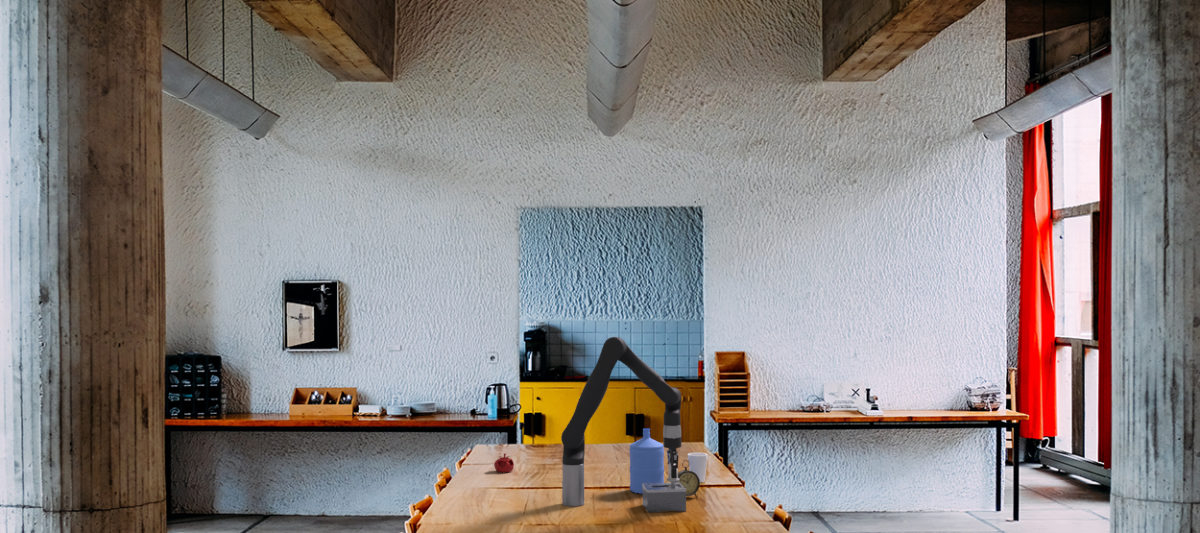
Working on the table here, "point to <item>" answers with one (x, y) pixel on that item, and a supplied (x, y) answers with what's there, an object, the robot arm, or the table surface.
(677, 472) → the peg
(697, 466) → the foam cup
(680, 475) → the alarm clock
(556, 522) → the table surface
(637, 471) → the water jug
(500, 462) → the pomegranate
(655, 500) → the keyhole stand
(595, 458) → the table surface
